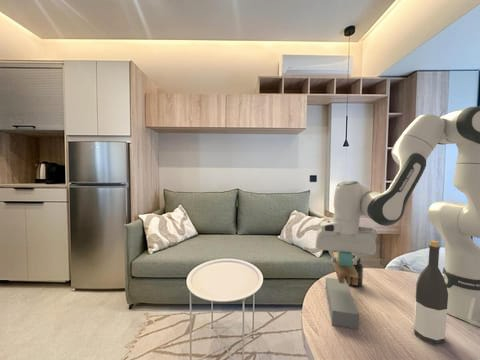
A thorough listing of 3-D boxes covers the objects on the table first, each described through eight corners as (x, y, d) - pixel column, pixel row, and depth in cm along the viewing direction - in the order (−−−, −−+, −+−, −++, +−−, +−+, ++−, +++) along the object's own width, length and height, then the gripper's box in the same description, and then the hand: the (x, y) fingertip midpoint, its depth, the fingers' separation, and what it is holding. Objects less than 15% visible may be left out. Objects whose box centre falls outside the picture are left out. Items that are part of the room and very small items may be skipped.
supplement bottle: (358, 280, 114) (360, 254, 113) (364, 287, 107) (366, 260, 106) (343, 279, 115) (344, 253, 114) (348, 287, 108) (349, 259, 107)
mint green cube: (349, 262, 92) (350, 251, 91) (352, 266, 88) (352, 255, 87) (338, 260, 92) (338, 250, 92) (339, 265, 89) (340, 253, 88)
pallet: (347, 262, 101) (347, 253, 101) (357, 285, 82) (358, 274, 81) (332, 260, 102) (332, 251, 102) (339, 283, 83) (339, 272, 83)
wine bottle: (421, 343, 75) (427, 244, 72) (407, 325, 83) (413, 236, 80) (451, 346, 73) (459, 246, 71) (435, 328, 81) (441, 237, 79)
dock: (345, 291, 104) (346, 279, 104) (358, 329, 81) (358, 314, 81) (325, 288, 106) (325, 277, 106) (332, 325, 83) (332, 310, 82)
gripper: (374, 226, 91) (372, 263, 92) (316, 221, 96) (314, 257, 97) (379, 230, 85) (377, 270, 86) (317, 226, 90) (315, 263, 91)
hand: (343, 263), depth 92 cm, fingers closed on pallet, 6 cm apart
